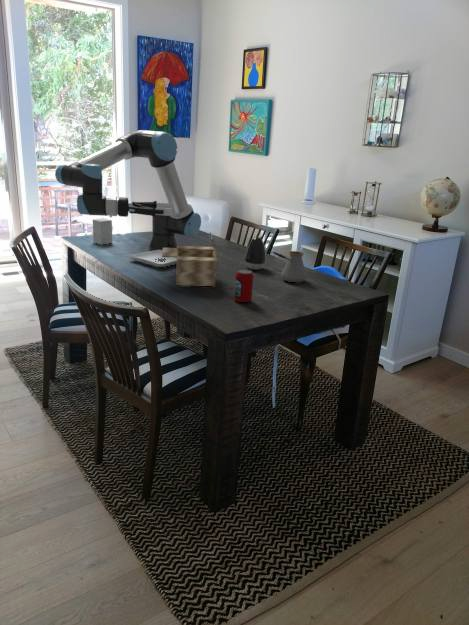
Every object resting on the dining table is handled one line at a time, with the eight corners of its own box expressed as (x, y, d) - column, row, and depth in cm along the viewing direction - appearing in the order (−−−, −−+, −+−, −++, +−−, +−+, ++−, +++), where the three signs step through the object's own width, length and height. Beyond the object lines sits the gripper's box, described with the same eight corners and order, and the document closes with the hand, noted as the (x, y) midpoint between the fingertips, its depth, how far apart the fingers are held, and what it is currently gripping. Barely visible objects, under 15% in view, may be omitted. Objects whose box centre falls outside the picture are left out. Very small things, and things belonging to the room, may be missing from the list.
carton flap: (211, 239, 201) (212, 238, 201) (209, 232, 214) (210, 232, 214) (216, 258, 204) (218, 257, 204) (214, 250, 217) (215, 250, 217)
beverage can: (233, 297, 197) (235, 268, 193) (250, 298, 198) (252, 269, 194) (234, 303, 191) (236, 273, 187) (252, 304, 191) (254, 274, 187)
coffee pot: (292, 275, 233) (295, 244, 228) (311, 282, 225) (315, 249, 220) (259, 282, 219) (262, 249, 214) (278, 289, 211) (282, 255, 206)
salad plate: (159, 255, 254) (159, 248, 253) (191, 263, 243) (191, 256, 241) (127, 262, 237) (127, 255, 236) (160, 271, 226) (161, 264, 225)
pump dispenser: (268, 267, 243) (271, 237, 238) (260, 272, 234) (263, 240, 229) (249, 264, 247) (251, 233, 242) (240, 268, 238) (243, 237, 233)
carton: (161, 289, 201) (161, 258, 196) (162, 272, 223) (163, 244, 219) (215, 291, 204) (217, 260, 199) (211, 274, 226) (213, 247, 222)
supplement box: (112, 243, 268) (112, 220, 264) (101, 245, 263) (100, 221, 258) (104, 241, 273) (104, 217, 268) (92, 242, 267) (92, 219, 263)
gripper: (121, 211, 212) (172, 213, 215) (114, 221, 189) (171, 224, 192) (121, 193, 209) (172, 196, 212) (114, 201, 187) (172, 204, 189)
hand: (172, 209), depth 202 cm, fingers open, 12 cm apart
